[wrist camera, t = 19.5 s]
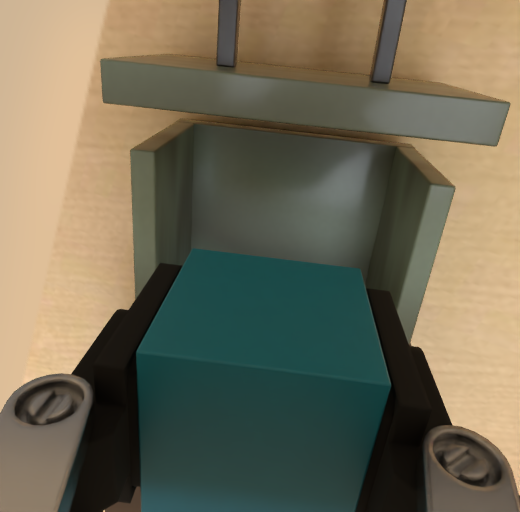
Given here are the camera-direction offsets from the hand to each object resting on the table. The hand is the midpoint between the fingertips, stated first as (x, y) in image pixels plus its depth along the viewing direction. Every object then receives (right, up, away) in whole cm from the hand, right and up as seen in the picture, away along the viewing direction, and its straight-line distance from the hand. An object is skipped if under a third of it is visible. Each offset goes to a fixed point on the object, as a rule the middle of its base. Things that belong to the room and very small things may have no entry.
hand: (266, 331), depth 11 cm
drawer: (+1, +6, +9) cm, 11 cm away
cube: (0, 0, 0) cm, 0 cm away
